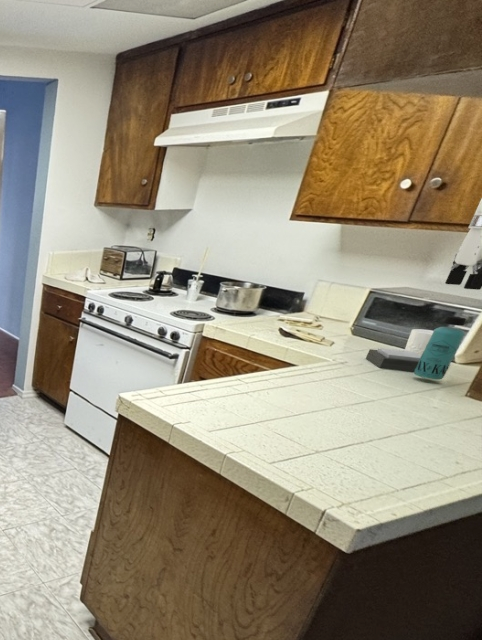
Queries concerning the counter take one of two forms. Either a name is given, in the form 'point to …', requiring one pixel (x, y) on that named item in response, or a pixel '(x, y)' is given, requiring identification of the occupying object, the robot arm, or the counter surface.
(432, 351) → the beverage bottle
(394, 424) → the counter surface
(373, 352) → the scale
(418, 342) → the white cup
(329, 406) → the counter surface
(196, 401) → the counter surface
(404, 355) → the pan
